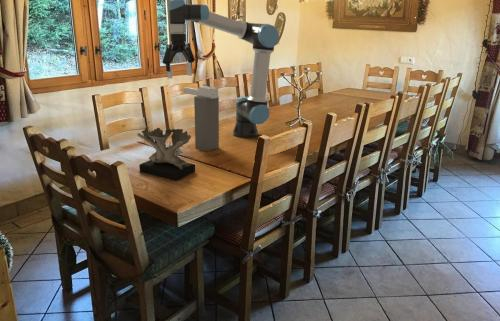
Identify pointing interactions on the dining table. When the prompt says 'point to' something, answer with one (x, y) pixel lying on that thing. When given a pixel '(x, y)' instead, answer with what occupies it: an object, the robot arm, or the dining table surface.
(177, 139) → the coral
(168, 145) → the coral branch
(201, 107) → the stand
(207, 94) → the jaw bar
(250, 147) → the dining table surface
